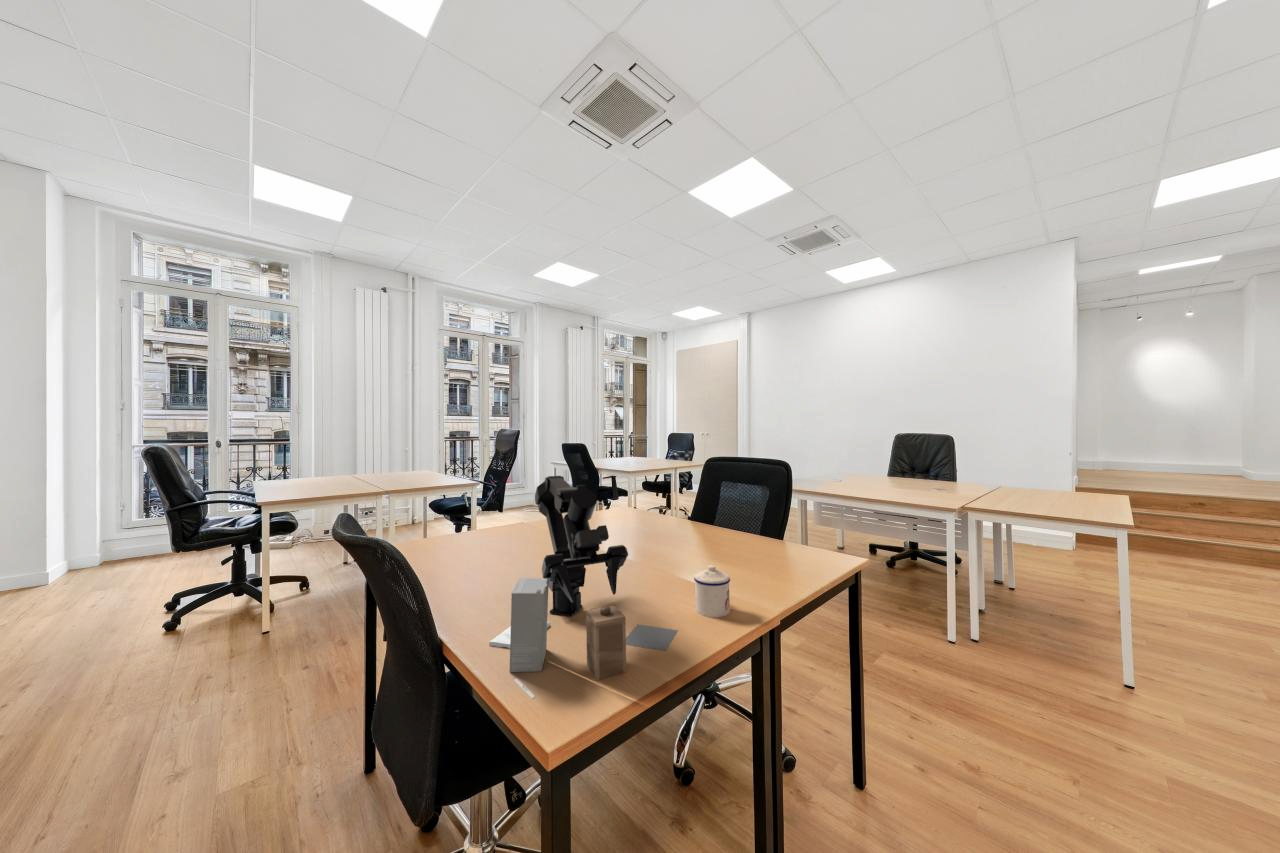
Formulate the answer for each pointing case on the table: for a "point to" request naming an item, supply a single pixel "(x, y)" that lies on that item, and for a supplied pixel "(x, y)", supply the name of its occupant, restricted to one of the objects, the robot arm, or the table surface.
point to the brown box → (606, 641)
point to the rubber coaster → (651, 637)
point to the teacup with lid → (712, 593)
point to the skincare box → (529, 624)
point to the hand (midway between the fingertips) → (594, 597)
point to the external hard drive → (505, 638)
